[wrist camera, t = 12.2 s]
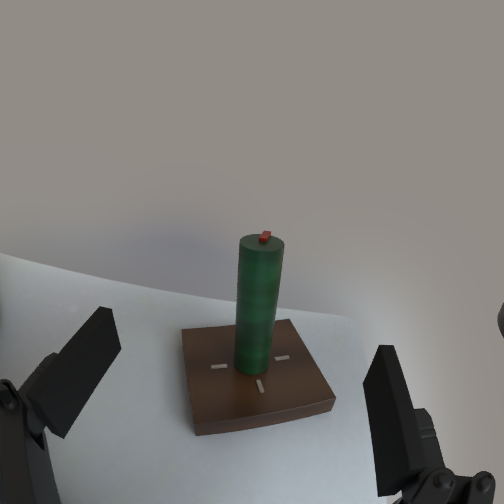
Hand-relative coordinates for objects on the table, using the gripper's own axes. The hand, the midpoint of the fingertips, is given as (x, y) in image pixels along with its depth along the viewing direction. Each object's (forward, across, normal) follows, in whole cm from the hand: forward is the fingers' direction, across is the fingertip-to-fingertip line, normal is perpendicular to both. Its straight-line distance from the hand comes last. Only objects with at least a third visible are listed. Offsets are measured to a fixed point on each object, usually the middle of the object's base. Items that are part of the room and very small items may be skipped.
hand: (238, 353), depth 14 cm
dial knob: (+10, 0, -10) cm, 14 cm away
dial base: (+10, 0, -12) cm, 16 cm away
